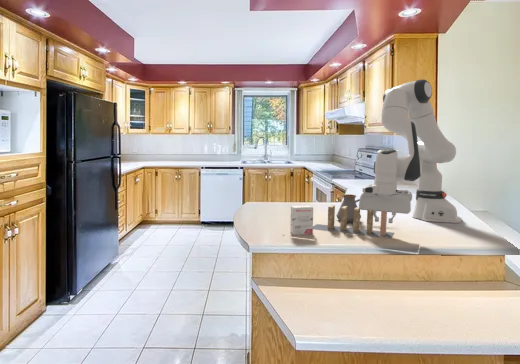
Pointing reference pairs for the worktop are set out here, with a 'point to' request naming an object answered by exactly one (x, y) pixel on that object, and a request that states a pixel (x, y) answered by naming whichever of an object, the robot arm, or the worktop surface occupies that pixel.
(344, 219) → the domino
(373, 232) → the runner mat
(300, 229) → the ink box
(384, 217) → the domino
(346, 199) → the coffee pot
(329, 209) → the domino
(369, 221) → the domino
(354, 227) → the domino
